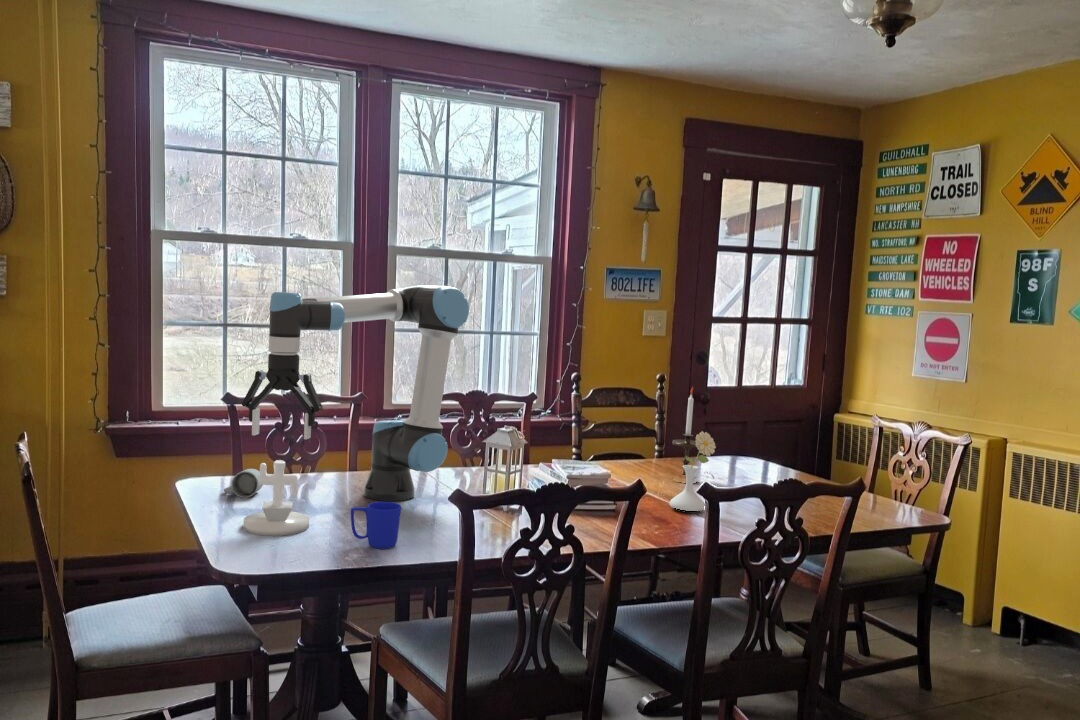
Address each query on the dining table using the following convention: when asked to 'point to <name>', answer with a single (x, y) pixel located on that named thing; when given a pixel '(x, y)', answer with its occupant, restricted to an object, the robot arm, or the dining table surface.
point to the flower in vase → (688, 496)
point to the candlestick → (687, 432)
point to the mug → (380, 523)
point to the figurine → (278, 491)
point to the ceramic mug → (245, 483)
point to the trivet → (275, 524)
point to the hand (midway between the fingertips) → (281, 436)
